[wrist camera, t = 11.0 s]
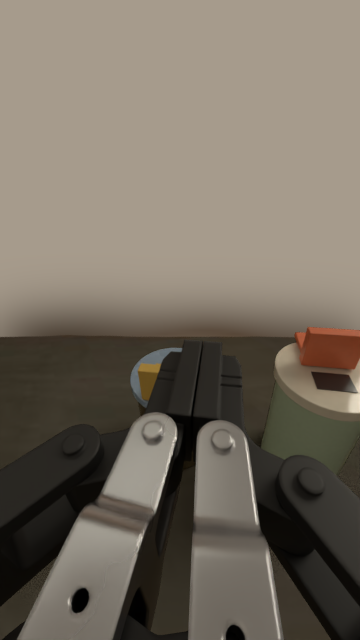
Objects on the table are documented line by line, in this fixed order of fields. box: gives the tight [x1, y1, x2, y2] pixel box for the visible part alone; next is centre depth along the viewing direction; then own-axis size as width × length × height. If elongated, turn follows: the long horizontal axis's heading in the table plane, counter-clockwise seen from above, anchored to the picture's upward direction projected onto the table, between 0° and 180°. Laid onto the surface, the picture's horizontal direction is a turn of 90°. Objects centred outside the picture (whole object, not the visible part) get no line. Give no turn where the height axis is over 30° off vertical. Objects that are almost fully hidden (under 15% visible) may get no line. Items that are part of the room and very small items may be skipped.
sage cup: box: [261, 343, 360, 477], centre depth 26 cm, size 9×9×13 cm
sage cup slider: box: [295, 327, 360, 370], centre depth 23 cm, size 4×5×4 cm
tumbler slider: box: [138, 363, 161, 400], centre depth 23 cm, size 4×4×4 cm
